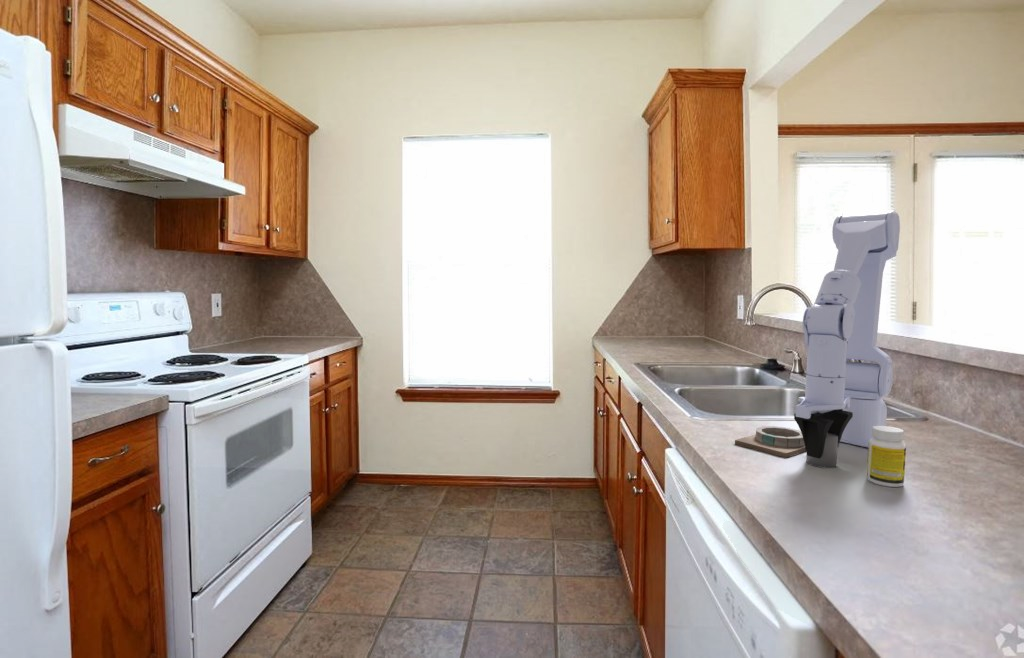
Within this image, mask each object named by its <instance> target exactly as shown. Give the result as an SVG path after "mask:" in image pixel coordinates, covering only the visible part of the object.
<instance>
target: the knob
mask: <svg viewBox="0 0 1024 658" xmlns="http://www.w3.org/2000/svg"><path fill="white" fill-rule="evenodd" d="M837 446H838V436H837V435H835V434H832V433H827V436H826V439H825V445H824V451H823V454H822V457H821V458H815V457H811V456H807V454H806V457H805V458H806V464H808V465H810V466H813V467H816V468H817V467H818V468H826V469H831V468H836V467H837V465H838V464H837V463H838V449H837ZM838 447H839V446H838Z"/></svg>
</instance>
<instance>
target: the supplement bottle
mask: <svg viewBox="0 0 1024 658" xmlns="http://www.w3.org/2000/svg"><path fill="white" fill-rule="evenodd" d="M904 433H905V432H904V430H903V429H902V428H898V427H894V426H887V425H886V426H874V427H873V428H872V436H873V437H874V438H871V439H870V440H869V447H867V448H868V449H867V451H868V452H867V465H866V479H867V480H868V481H869V482H871V483H872V484H873V483H874V484H875V485H879V486H883V487H888V488H889V487H890V488H899V487H902V486H904V484H905V474H906V473H905V471H906V469H905V468H906V456H907V445H906V444H905V442H903V441H904V439H905V434H904Z"/></svg>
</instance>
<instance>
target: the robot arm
mask: <svg viewBox="0 0 1024 658" xmlns="http://www.w3.org/2000/svg"><path fill="white" fill-rule="evenodd" d="M900 230H901V223H900V216H899V213H898V212H896V210H895V209H890V210H889V211H887V210H886V211H879V212H878V211H877V212H876V211H875V212H867V213H866V212H865V213H853V214H842V213H841V214H839V215H837V217H836V218H835V219H834V221H833V224H832V234H831V235H832V239H833V243H834V245H835V248H836V249H837V255H836V258H835V263H834V267H833V268H834V269H833V270H831V271H829V272H827V273H826V274H825V275H824V277H823V279H822V282H821V284H820V287H819V291H818V292H817V295H816V298H815V301H814V303H813V304H812V305H811V306H808V307H806V308H805V310H804V313H803V317H802V318H803V319H802V331H803V335H804V344H803V345H804V347H805V348H807V350H806V368H805V369H806V373H805V374H806V375H805V393H804V395H805V396H800V397H798V400H797V401H798V402H800V403H799V404H796V405H795V413H794V414H793V415H794V416H793V417H794V418H793V419H794V420H795V422H796V424H797V425H798V428H799V431H801V433H802V436H803V440H804V444H805V449H806V451H805V453H806V455H807V456H811V457H815V458H821V457H822V454H823V451H824V445H825V439H826V436H827V433H832V434H835V435H837V436H838V446H837V450H838V449H839V445H840V442H841V443H846V444H849V445H855V446H859V447H864V448H868V447H869V440H870V439H871V438H874V437H873V436H872V428H873V427H874V426H887V414H888V413H887V412H888V409H887V408H888V407H887V405H886V403H885V401H884V400H883V398H886V397H887V396H888V395H890V393H891V391H892V387H893V380H894V379H893V377H894V376H893V375H894V374H893V360H892V358H891V356H889V354H888V353H886V352H885V351H884V350H882V349H881V348H879V347H878V345H877V343H878V342H877V341H878V340H877V339H878V330H879V319H880V309H881V308H880V307H881V296H882V289H883V288H882V287H883V277H884V270H885V267H886V263H887V261H890V260H891V259H893V258H895V257H896V256H897V252H898V250H899V242H900V241H899V240H900ZM849 360H857V361H849ZM860 361H867V362H860ZM868 361H869V362H868ZM870 361H871V362H876V363H871V362H870Z"/></svg>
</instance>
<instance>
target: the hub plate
mask: <svg viewBox="0 0 1024 658" xmlns="http://www.w3.org/2000/svg"><path fill="white" fill-rule="evenodd" d="M734 445H737V446H740V447H745V448H748V449H752V450H755V451H759V452H763V453H767V454H771V455H775V456H779V457H782V458H789V457H792V456H796V455H798V454H802V453H806V449H805V444H804V440H803V436H802V433H801V430H800V429H794V428H790V427H783V426H774V425H773V426H770V425H769V426H766V425H765V426H759V427H756V429H755V434H752V435H748V436H744V437H742V438H737V439H734Z"/></svg>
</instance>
